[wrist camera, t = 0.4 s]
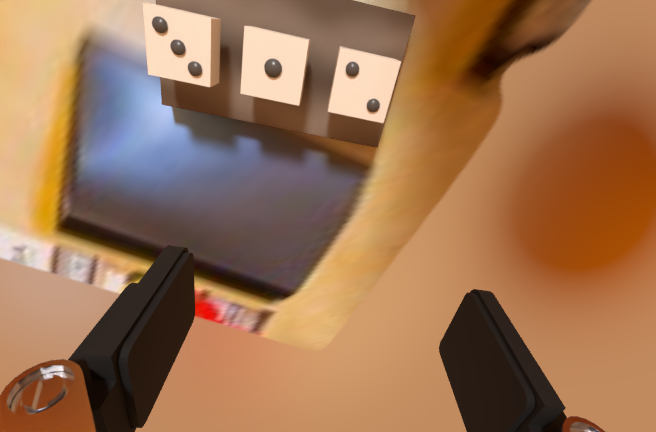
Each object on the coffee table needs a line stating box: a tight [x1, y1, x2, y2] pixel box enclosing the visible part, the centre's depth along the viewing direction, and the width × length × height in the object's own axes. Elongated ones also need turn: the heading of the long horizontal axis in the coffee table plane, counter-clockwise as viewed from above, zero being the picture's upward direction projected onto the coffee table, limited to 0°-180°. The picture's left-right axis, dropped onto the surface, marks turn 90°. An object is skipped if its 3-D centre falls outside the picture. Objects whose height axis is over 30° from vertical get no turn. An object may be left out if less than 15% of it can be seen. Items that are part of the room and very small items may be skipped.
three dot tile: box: [143, 3, 221, 87], centre depth 26 cm, size 5×5×3 cm
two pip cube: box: [328, 46, 401, 123], centre depth 28 cm, size 5×5×3 cm
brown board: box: [156, 0, 415, 147], centre depth 31 cm, size 12×22×2 cm, turn 79°
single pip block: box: [240, 26, 310, 106], centre depth 27 cm, size 5×5×3 cm
